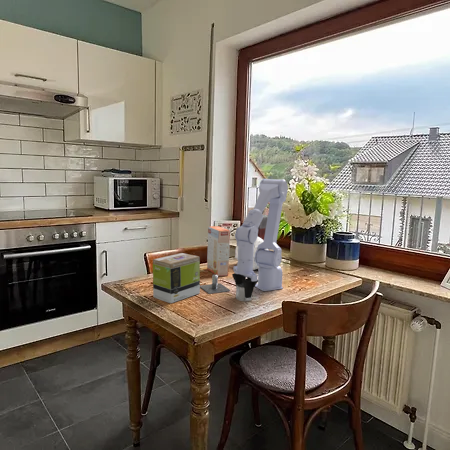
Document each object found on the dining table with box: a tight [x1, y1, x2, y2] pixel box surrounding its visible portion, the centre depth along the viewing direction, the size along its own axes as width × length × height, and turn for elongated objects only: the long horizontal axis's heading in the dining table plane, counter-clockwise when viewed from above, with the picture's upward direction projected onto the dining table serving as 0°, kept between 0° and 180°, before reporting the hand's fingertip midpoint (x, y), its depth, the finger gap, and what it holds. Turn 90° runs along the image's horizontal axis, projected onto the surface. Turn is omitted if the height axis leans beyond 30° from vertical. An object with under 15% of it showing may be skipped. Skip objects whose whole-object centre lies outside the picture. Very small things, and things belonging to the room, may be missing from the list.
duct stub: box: [200, 274, 231, 295], centre depth 143 cm, size 9×9×6 cm
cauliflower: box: [234, 236, 270, 271], centre depth 178 cm, size 20×18×16 cm
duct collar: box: [235, 283, 253, 302], centre depth 133 cm, size 6×6×5 cm
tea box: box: [152, 252, 201, 304], centre depth 133 cm, size 15×10×15 cm, turn 141°
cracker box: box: [206, 225, 231, 277], centre depth 166 cm, size 14×6×21 cm, turn 22°
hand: (244, 294), depth 133 cm, fingers closed on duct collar, 6 cm apart
